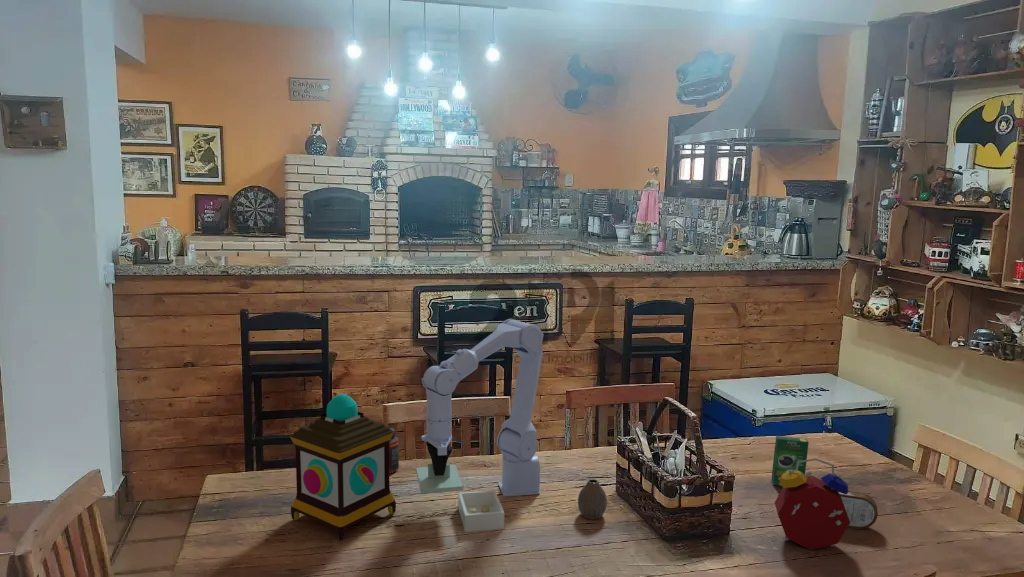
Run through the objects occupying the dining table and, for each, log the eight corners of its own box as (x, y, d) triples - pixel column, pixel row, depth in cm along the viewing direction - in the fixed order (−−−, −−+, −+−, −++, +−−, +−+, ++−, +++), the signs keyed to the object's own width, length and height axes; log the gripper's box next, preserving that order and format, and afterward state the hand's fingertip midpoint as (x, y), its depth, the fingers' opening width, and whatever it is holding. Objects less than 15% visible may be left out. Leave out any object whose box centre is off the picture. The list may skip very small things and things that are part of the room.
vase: (610, 512, 174) (611, 478, 173) (601, 524, 168) (602, 489, 166) (583, 506, 177) (584, 473, 175) (573, 518, 171) (574, 483, 169)
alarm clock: (841, 540, 162) (849, 456, 159) (849, 560, 154) (858, 471, 151) (771, 532, 166) (778, 449, 162) (776, 551, 157) (783, 464, 154)
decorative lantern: (347, 491, 183) (345, 377, 178) (404, 513, 172) (403, 391, 167) (281, 521, 167) (277, 396, 162) (339, 547, 156) (337, 414, 151)
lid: (455, 470, 177) (455, 453, 176) (463, 492, 165) (462, 473, 164) (416, 474, 175) (416, 456, 174) (420, 496, 163) (420, 477, 162)
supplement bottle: (401, 466, 199) (401, 427, 198) (395, 474, 193) (395, 434, 192) (380, 464, 200) (379, 425, 198) (374, 473, 194) (373, 433, 192)
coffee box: (802, 484, 192) (806, 437, 190) (805, 488, 189) (809, 441, 187) (771, 481, 194) (774, 434, 192) (772, 485, 191) (776, 438, 189)
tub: (494, 505, 177) (495, 490, 176) (504, 528, 165) (504, 512, 164) (458, 508, 175) (458, 492, 174) (465, 532, 163) (465, 515, 163)
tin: (875, 527, 169) (878, 493, 168) (877, 533, 166) (880, 498, 165) (806, 516, 174) (809, 483, 173) (806, 522, 171) (809, 488, 170)
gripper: (419, 408, 174) (419, 462, 176) (424, 429, 159) (424, 487, 162) (448, 407, 175) (447, 460, 177) (456, 427, 161) (455, 485, 163)
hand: (438, 473), depth 169 cm, fingers closed on lid
